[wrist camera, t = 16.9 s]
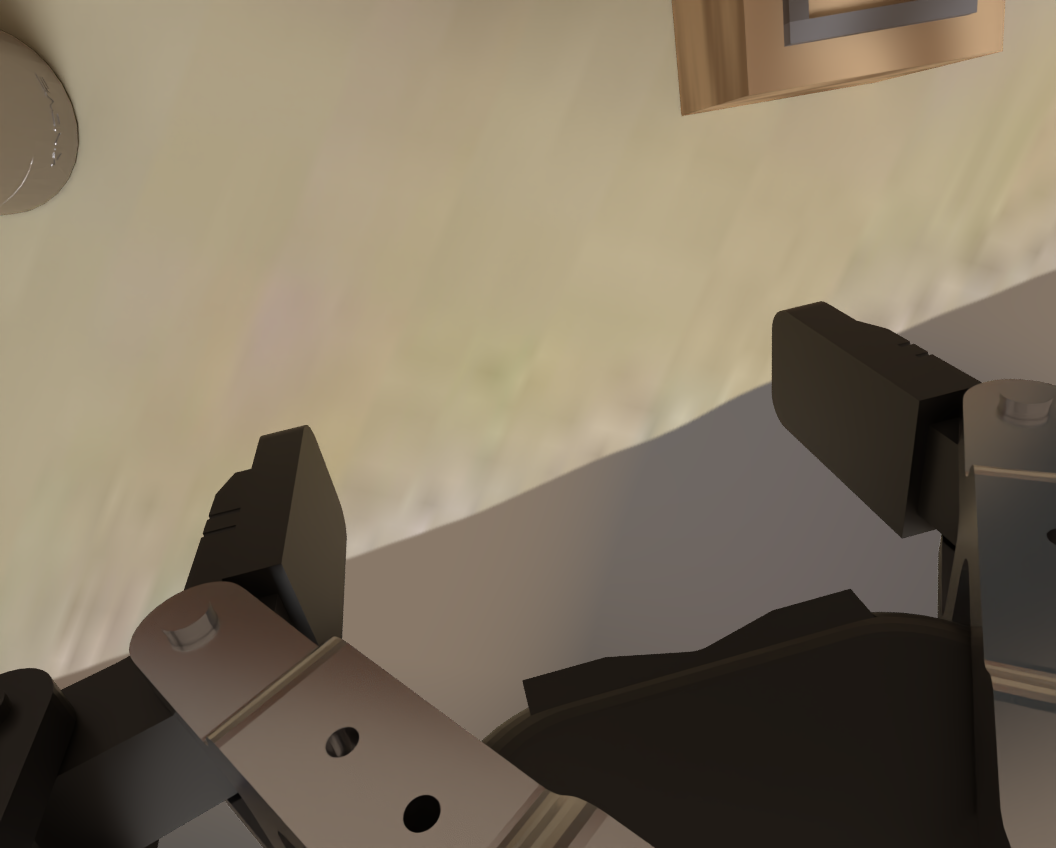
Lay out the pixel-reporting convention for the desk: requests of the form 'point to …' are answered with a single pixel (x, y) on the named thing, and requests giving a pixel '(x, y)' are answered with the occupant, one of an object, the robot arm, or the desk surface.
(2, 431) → the desk surface
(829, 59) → the wood grain square block
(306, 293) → the desk surface
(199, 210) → the desk surface
